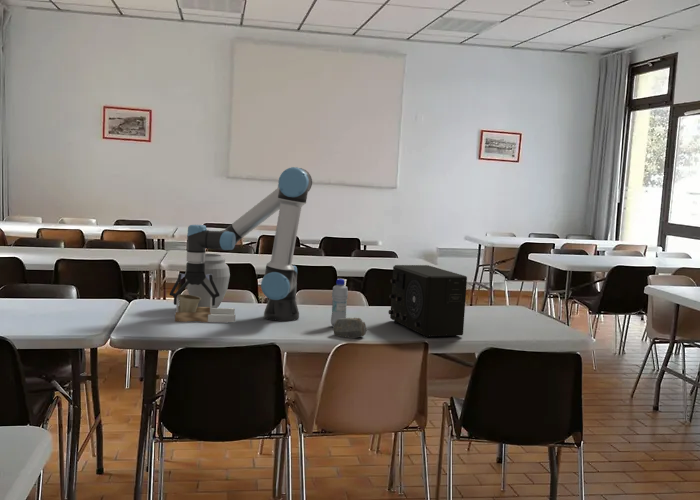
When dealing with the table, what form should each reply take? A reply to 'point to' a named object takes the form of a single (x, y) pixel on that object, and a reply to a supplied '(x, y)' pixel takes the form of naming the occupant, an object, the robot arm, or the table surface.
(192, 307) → the flower pot
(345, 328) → the stone
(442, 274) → the vintage radio
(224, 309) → the bay
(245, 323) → the table surface
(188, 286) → the vase
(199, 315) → the flat square wooden block
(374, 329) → the table surface
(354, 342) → the table surface
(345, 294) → the bottle
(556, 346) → the table surface
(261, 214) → the robot arm
